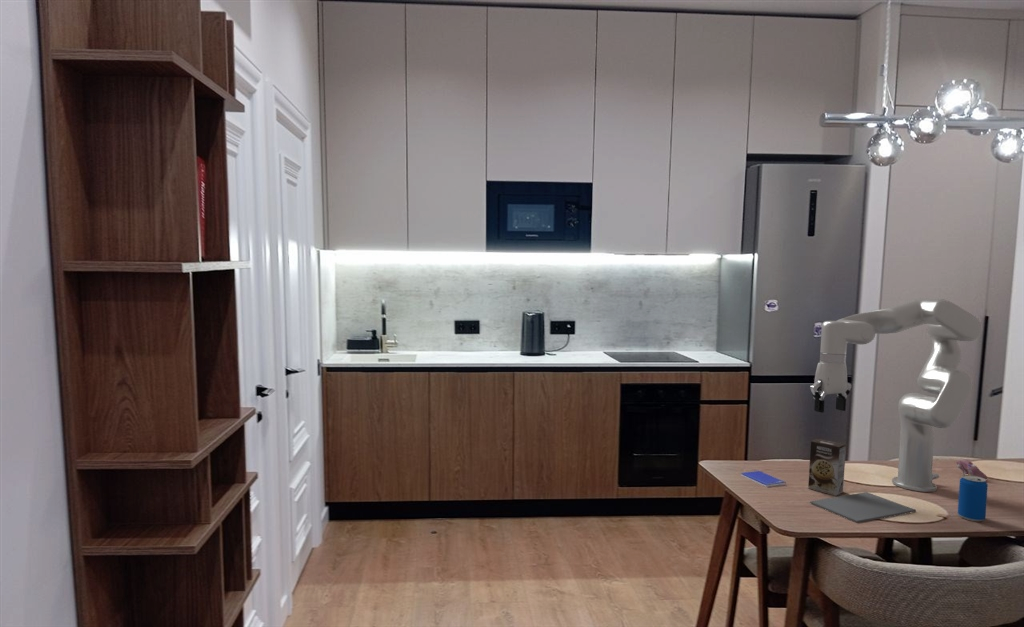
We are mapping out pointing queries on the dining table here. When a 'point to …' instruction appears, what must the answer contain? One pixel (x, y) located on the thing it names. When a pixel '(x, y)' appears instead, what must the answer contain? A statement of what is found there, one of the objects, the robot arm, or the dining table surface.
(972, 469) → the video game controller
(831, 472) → the coffee box
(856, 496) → the gray mat
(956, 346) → the robot arm
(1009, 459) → the dining table surface
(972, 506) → the beverage can
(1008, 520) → the dining table surface
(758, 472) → the hard drive
